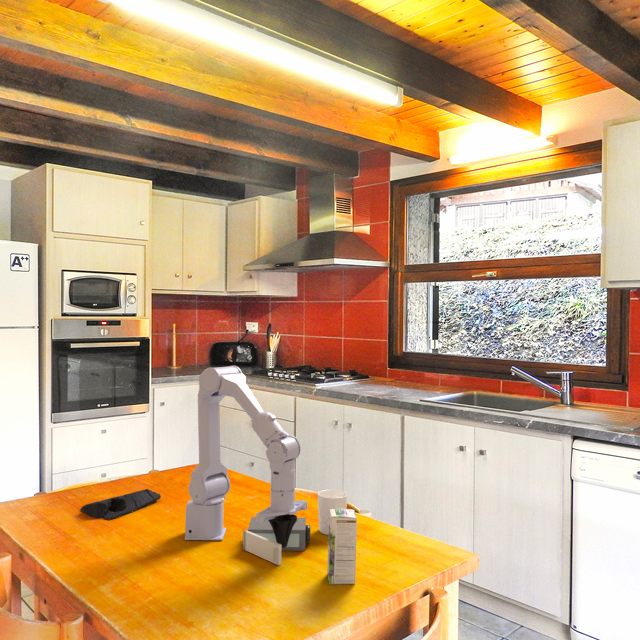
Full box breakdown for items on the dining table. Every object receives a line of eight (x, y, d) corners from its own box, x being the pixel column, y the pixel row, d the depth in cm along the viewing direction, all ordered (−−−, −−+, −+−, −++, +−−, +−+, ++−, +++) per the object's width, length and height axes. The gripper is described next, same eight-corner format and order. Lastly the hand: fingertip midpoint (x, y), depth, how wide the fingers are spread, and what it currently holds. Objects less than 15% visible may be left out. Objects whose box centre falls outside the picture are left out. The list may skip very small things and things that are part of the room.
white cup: (344, 537, 154) (344, 499, 154) (314, 535, 156) (314, 496, 156) (348, 527, 162) (349, 490, 162) (320, 524, 164) (320, 488, 163)
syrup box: (326, 573, 133) (327, 508, 132) (353, 573, 133) (354, 508, 133) (328, 585, 127) (330, 517, 127) (356, 584, 127) (357, 516, 127)
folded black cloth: (169, 503, 181) (169, 488, 181) (106, 523, 163) (106, 506, 163) (136, 494, 190) (136, 479, 190) (73, 512, 172) (73, 496, 172)
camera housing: (247, 550, 145) (247, 527, 145) (251, 536, 154) (251, 514, 154) (310, 550, 145) (310, 527, 145) (310, 536, 154) (310, 515, 154)
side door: (240, 549, 145) (241, 530, 144) (245, 548, 146) (245, 529, 146) (276, 566, 136) (277, 545, 135) (281, 564, 137) (281, 544, 136)
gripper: (270, 498, 133) (270, 559, 133) (316, 486, 143) (315, 542, 143) (250, 492, 138) (249, 550, 138) (296, 480, 148) (295, 534, 148)
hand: (282, 546), depth 141 cm, fingers closed
